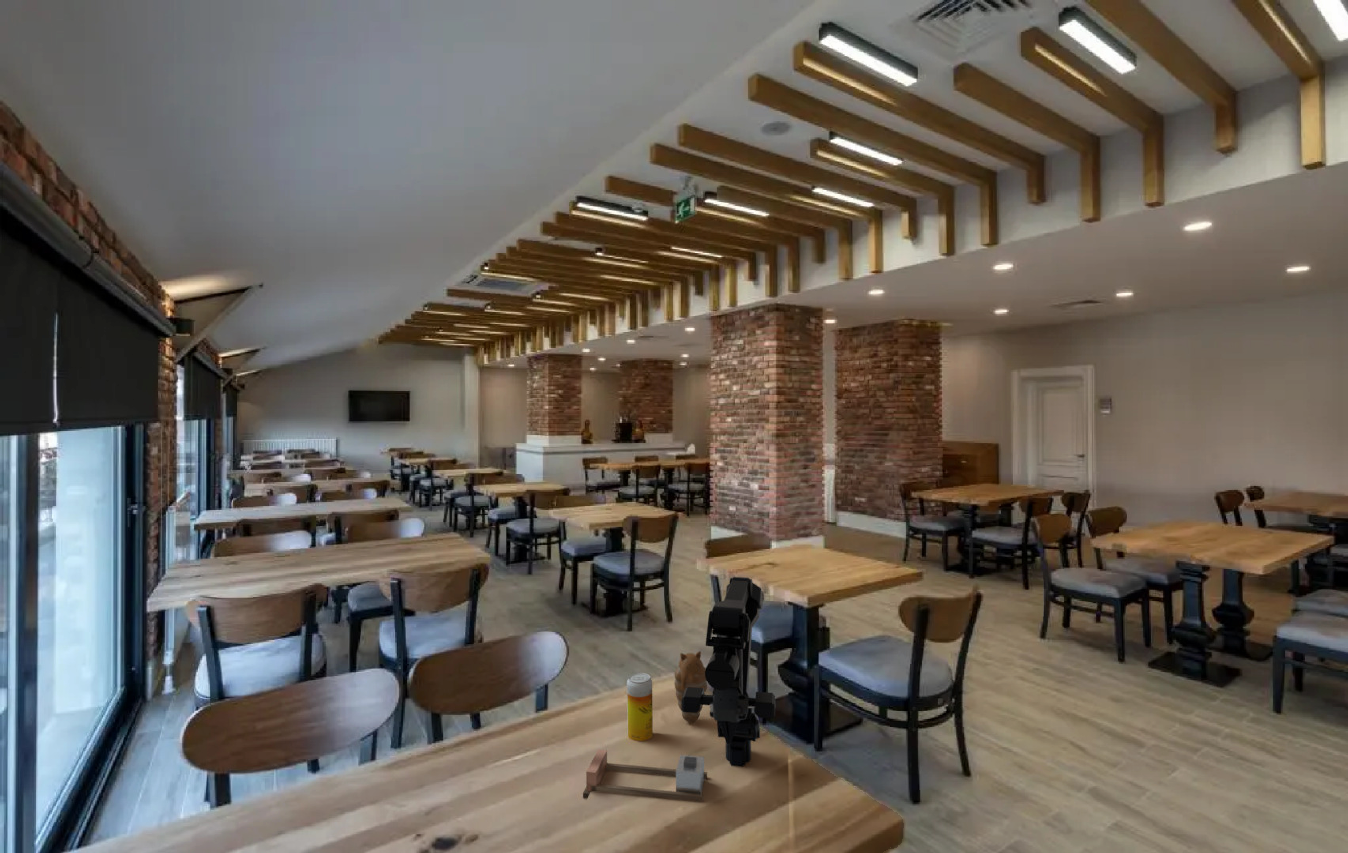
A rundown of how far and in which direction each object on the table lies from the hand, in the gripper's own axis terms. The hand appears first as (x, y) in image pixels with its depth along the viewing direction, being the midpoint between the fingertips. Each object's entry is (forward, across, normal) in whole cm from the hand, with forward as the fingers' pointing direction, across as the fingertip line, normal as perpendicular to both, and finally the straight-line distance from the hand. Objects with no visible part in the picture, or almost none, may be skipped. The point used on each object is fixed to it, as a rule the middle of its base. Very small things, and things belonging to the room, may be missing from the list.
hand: (728, 743), depth 128 cm
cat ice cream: (+12, -12, +29) cm, 33 cm away
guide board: (+11, -17, 0) cm, 20 cm away
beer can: (+12, -23, +19) cm, 32 cm away
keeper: (+10, -8, 0) cm, 13 cm away
